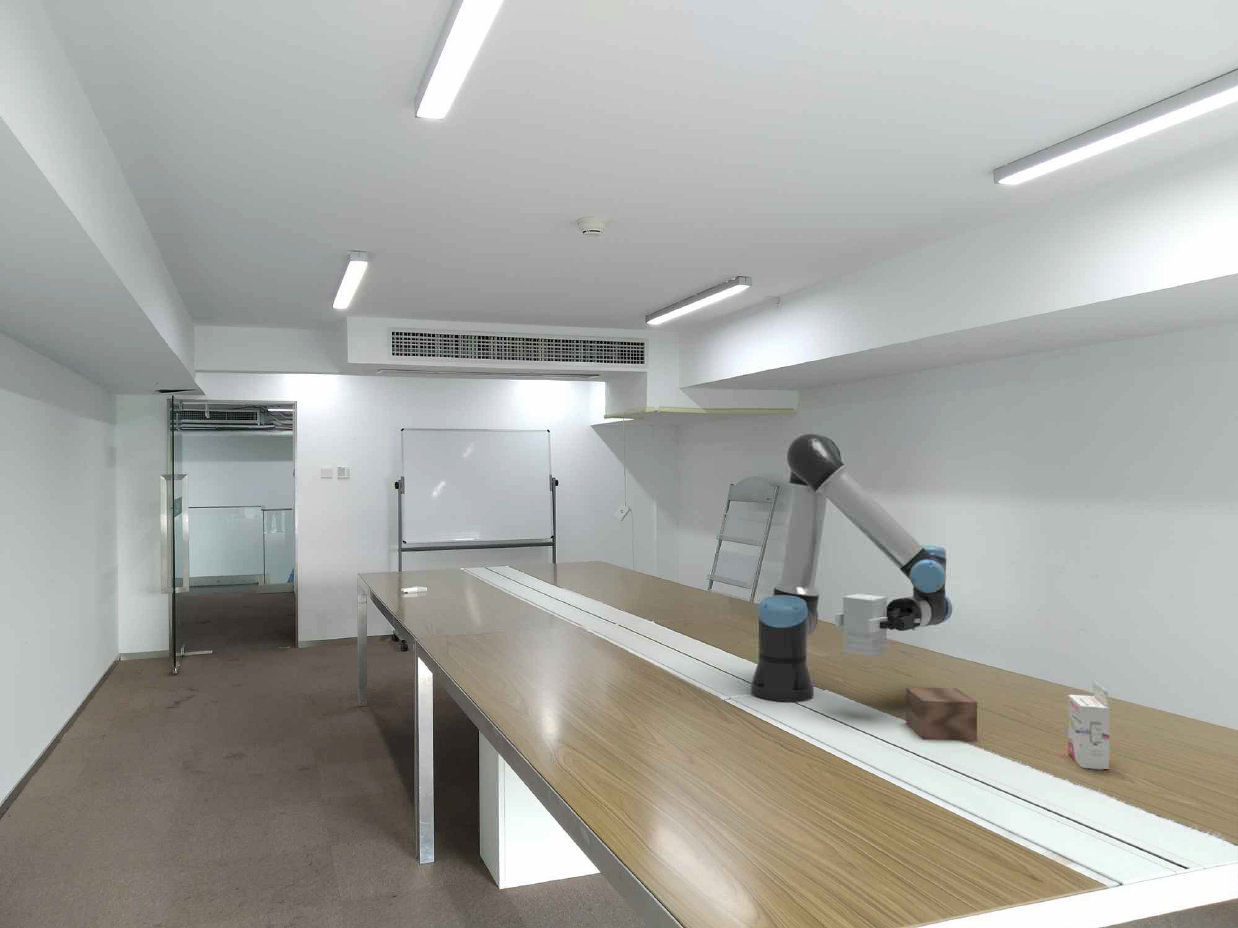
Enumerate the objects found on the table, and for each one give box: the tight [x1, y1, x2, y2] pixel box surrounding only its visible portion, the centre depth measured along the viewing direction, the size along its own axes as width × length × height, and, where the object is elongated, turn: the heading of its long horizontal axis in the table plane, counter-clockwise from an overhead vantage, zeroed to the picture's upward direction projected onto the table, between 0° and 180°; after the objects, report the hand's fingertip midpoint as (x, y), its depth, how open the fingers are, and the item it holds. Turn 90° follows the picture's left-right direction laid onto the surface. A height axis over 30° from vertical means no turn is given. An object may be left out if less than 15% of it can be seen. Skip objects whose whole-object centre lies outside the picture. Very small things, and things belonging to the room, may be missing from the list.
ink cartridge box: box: [1067, 680, 1110, 770], centre depth 161 cm, size 9×5×15 cm, turn 168°
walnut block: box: [905, 687, 978, 741], centre depth 179 cm, size 11×11×8 cm
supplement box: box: [842, 593, 888, 657], centre depth 190 cm, size 7×7×13 cm
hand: (852, 623), depth 187 cm, fingers closed on supplement box, 8 cm apart
